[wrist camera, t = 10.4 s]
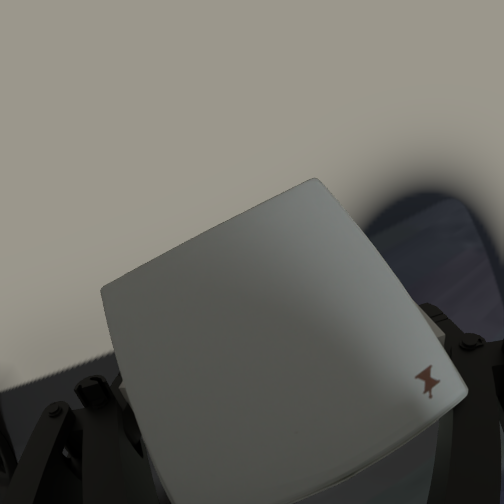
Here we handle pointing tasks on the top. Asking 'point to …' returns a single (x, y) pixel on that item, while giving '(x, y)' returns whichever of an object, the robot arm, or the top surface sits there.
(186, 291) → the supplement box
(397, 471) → the top surface
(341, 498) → the top surface
